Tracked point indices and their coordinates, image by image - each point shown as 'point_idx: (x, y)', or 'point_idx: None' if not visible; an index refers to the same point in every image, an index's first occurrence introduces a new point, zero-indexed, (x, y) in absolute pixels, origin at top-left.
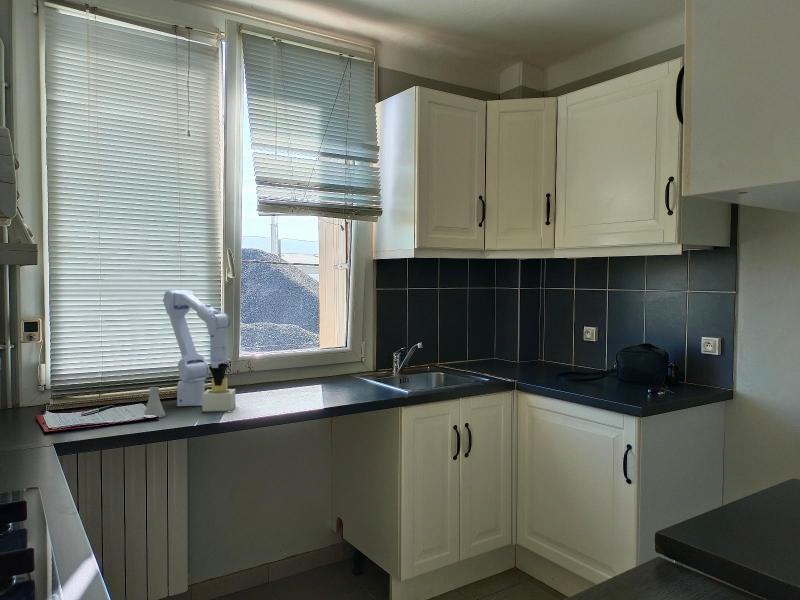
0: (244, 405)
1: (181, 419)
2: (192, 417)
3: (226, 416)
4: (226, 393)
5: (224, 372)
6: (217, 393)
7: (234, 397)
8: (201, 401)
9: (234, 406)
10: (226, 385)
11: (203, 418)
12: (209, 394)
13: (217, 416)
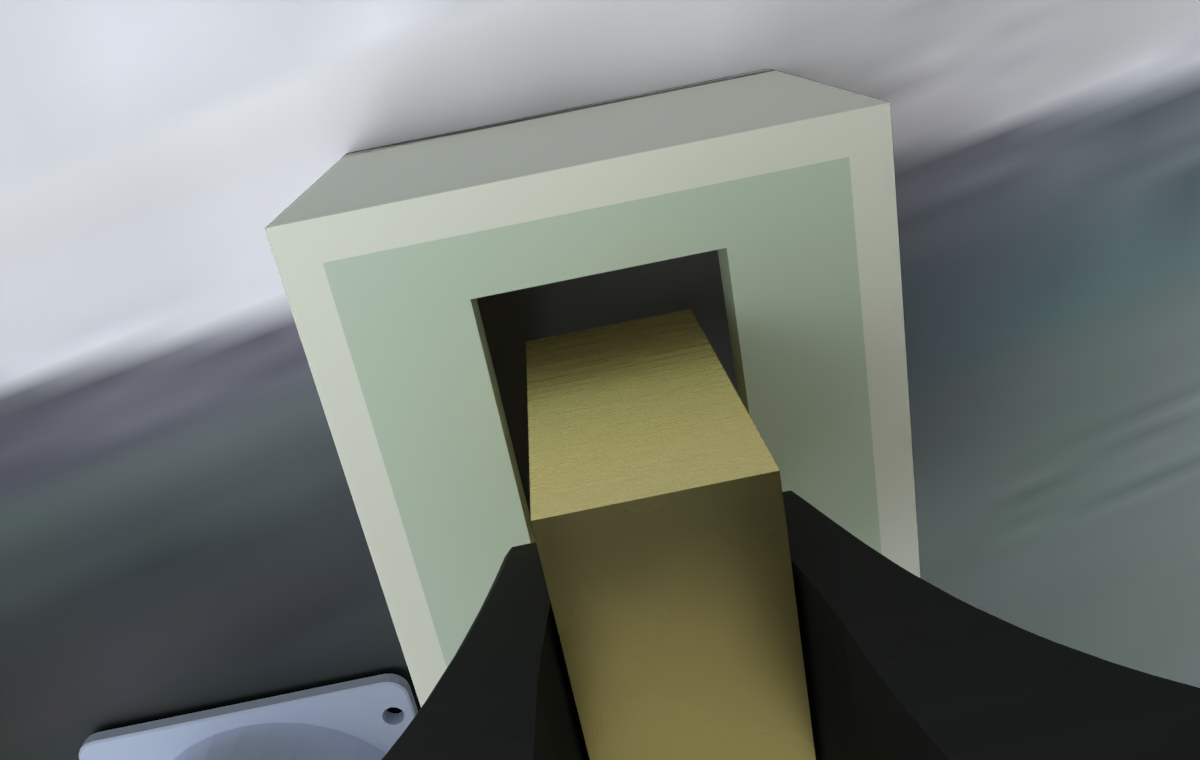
0: (209, 9)
1: (1190, 596)
2: (1098, 515)
3: (1094, 34)
4: (858, 240)
5: (536, 745)
6: (859, 444)
7: (431, 164)
8: (327, 750)
9: (459, 133)
10: (646, 386)
11: (1178, 348)
12: (919, 570)
13: (1077, 189)
